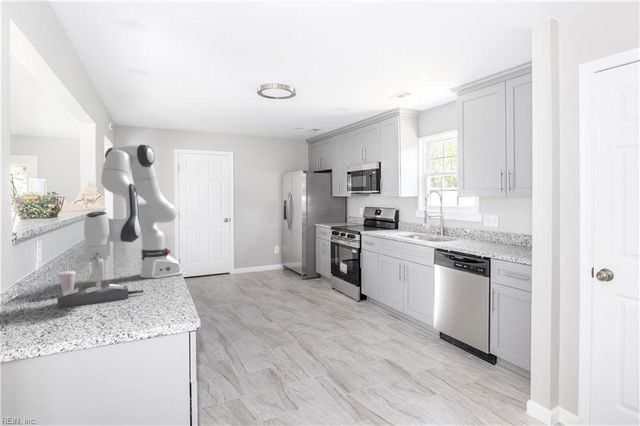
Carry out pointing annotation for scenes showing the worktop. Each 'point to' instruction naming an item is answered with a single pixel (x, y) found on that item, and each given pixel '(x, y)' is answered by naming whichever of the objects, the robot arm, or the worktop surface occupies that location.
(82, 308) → the worktop surface
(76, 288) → the block
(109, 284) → the plate
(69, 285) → the smoothie
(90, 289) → the rocker
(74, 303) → the power strip
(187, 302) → the worktop surface
